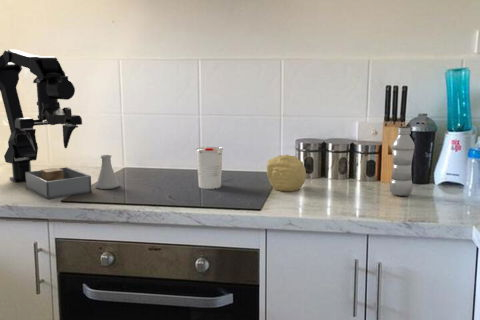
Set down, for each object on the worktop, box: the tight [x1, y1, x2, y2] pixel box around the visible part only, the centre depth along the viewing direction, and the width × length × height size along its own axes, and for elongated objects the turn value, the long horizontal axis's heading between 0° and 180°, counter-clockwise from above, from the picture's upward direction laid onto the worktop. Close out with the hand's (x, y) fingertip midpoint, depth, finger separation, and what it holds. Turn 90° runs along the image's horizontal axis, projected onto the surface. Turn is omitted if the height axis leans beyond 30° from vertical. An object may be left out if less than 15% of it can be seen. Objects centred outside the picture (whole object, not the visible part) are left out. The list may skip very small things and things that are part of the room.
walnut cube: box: [40, 167, 63, 181], centre depth 164 cm, size 5×5×5 cm
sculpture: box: [266, 154, 307, 192], centre depth 162 cm, size 12×12×11 cm
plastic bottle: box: [389, 126, 415, 197], centre depth 153 cm, size 6×7×20 cm
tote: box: [25, 166, 93, 200], centre depth 161 cm, size 18×13×5 cm
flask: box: [95, 154, 120, 190], centre depth 165 cm, size 7×7×10 cm
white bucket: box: [195, 146, 224, 190], centre depth 165 cm, size 10×8×12 cm
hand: (51, 149), depth 163 cm, fingers open, 9 cm apart
